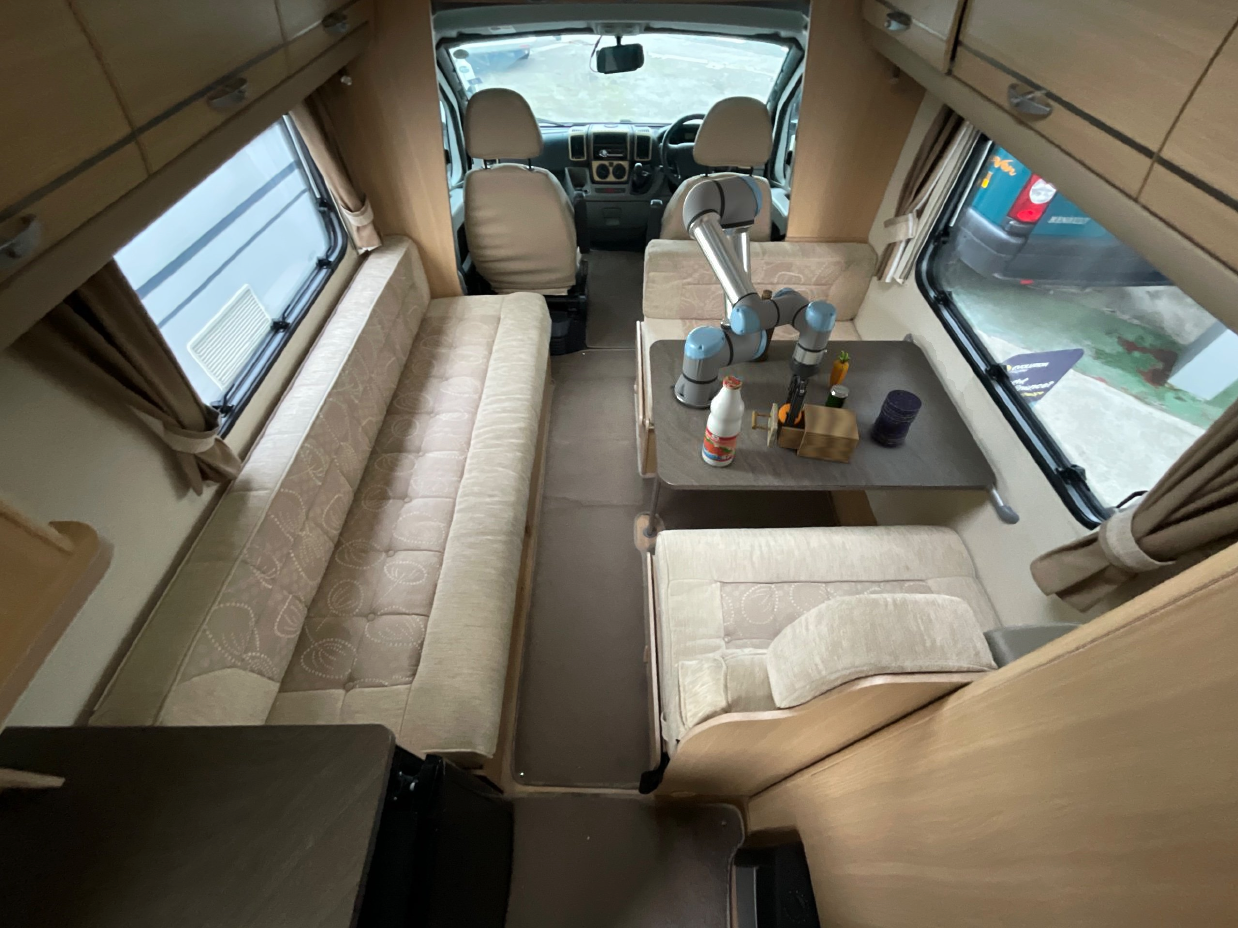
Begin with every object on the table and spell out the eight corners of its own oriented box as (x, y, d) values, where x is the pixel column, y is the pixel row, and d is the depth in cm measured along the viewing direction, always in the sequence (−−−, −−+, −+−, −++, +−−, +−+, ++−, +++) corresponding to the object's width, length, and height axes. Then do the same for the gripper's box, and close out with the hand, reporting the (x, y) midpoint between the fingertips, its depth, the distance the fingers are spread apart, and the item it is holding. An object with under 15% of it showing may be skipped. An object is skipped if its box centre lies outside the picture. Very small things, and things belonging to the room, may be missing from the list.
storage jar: (908, 446, 171) (929, 408, 160) (880, 450, 169) (898, 412, 159) (891, 424, 178) (909, 387, 167) (863, 428, 176) (880, 391, 165)
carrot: (841, 394, 188) (855, 357, 177) (826, 394, 188) (840, 357, 177) (837, 385, 191) (851, 348, 181) (823, 385, 191) (836, 348, 181)
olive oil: (751, 366, 198) (766, 302, 180) (732, 351, 205) (745, 288, 187) (774, 357, 202) (790, 294, 184) (754, 343, 209) (769, 281, 191)
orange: (776, 428, 165) (781, 411, 161) (776, 414, 170) (781, 397, 165) (798, 431, 165) (804, 414, 160) (798, 417, 169) (803, 400, 164)
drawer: (748, 444, 169) (753, 425, 163) (749, 419, 177) (754, 400, 171) (813, 454, 166) (820, 434, 160) (812, 428, 174) (819, 409, 168)
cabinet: (797, 455, 167) (805, 431, 160) (796, 427, 176) (804, 403, 169) (848, 463, 165) (859, 439, 158) (844, 434, 174) (854, 410, 167)
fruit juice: (739, 455, 166) (757, 380, 146) (721, 472, 161) (738, 396, 141) (713, 441, 171) (728, 365, 151) (695, 456, 166) (707, 381, 146)
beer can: (819, 422, 178) (830, 393, 169) (820, 412, 181) (831, 382, 173) (837, 426, 177) (849, 396, 168) (837, 415, 180) (849, 386, 172)
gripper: (823, 381, 143) (800, 445, 160) (819, 340, 157) (798, 403, 173) (793, 377, 144) (773, 441, 161) (792, 336, 158) (774, 400, 174)
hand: (786, 421), depth 167 cm, fingers closed on orange, 6 cm apart
